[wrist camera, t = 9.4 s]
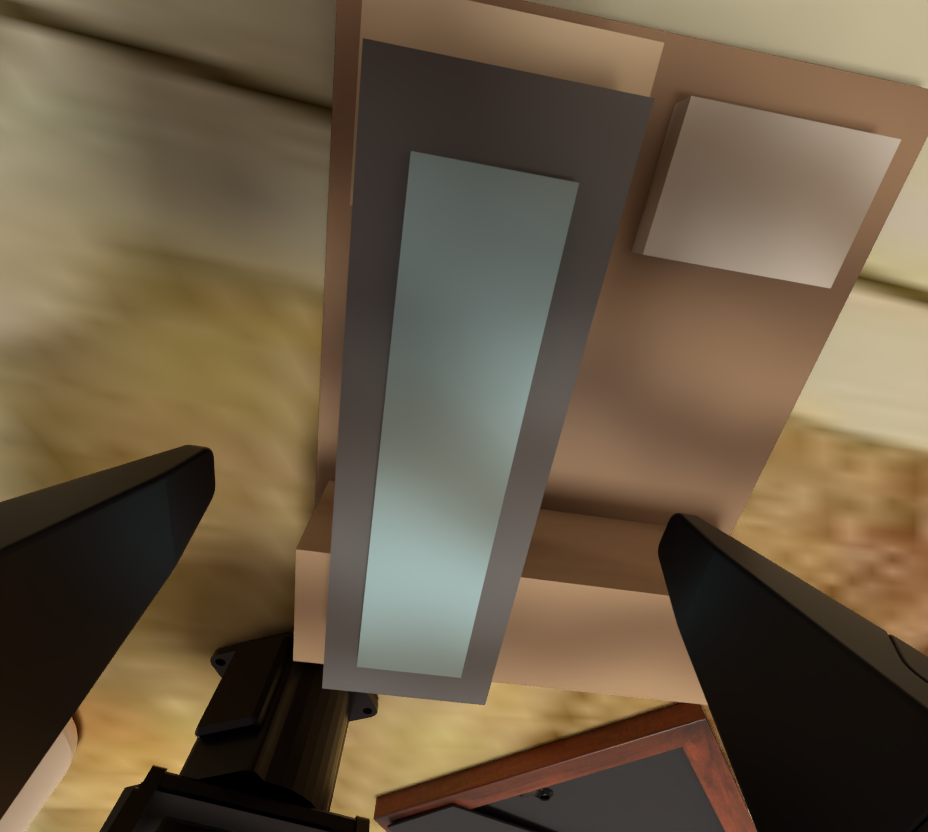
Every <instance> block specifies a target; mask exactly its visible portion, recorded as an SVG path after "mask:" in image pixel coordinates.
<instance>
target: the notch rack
mask: <svg viewBox="0 0 928 832" xmlns="http://www.w3.org/2000/svg"><path fill="white" fill-rule="evenodd" d="M363 38H365V39H370V40H375V41H380V42H385V43H389V44H394V45H399V46H404V47H409V48H414V49H419V50H423V51H428V52H433V53H438V54H443V55H448V56H452V57H457V58H462V59H467V60H472V61H477V62H482V63H486V64H491V65H496V66H501V67H506V68H511V69H515V70H520V71H525V72H530V73H535V74H540V75H545V76H549V77H554V78H559V79H564V80H569V81H574V82H578V83H583V84H588V85H593V86H598V87H603V88H608V89H612V90H617V91H622V92H627V93H632V94H637V95H642V96H646V97H651V98H655V99H654V102H653V106H652V109H651V113H650V116H649V120H648V124H647V127H646V131H645V134H644V138H643V142H642V145H641V149H640V152H639V156H638V159H637V163H636V167H635V170H634V174H633V177H632V181H631V184H630V188H629V192H628V195H627V199H626V202H625V206H624V209H623V213H622V217H621V220H620V224H619V227H618V231H617V235H616V238H615V242H614V245H613V249H612V252H611V256H610V260H609V263H608V267H607V270H606V274H605V277H604V281H603V285H602V288H601V292H600V295H599V299H598V302H597V306H596V310H595V313H594V317H593V320H592V324H591V327H590V331H589V335H588V338H587V342H586V345H585V349H584V353H583V356H582V360H581V363H580V367H579V370H578V374H577V378H576V381H575V385H574V388H573V392H572V395H571V399H570V403H569V406H568V410H567V413H566V417H565V420H564V424H563V428H562V431H561V435H560V438H559V442H558V446H557V449H556V453H555V456H554V460H553V463H552V467H551V471H550V474H549V478H548V481H547V485H546V488H545V492H544V496H543V499H542V503H541V506H540V510H539V513H538V517H537V521H536V524H535V528H534V531H533V535H532V538H531V542H530V546H529V549H528V553H527V556H526V560H525V564H524V567H523V571H522V574H521V578H520V581H519V585H518V589H517V592H516V596H515V599H514V603H513V606H512V610H511V614H510V617H509V621H508V624H507V628H506V631H505V635H504V639H503V642H502V646H501V649H500V653H499V657H498V660H497V664H496V667H495V671H494V674H493V678H492V682H497V683H506V684H516V685H525V686H534V687H544V688H553V689H562V690H572V691H581V692H590V693H600V694H609V695H618V696H628V697H637V698H647V699H656V700H665V701H675V702H684V703H693V704H703V705H708V704H707V701H706V699H705V696H704V694H703V691H702V689H701V686H700V683H699V681H698V678H697V676H696V673H695V671H694V668H693V665H692V663H691V660H690V658H689V655H688V653H687V650H686V647H685V645H684V642H683V640H682V637H681V634H680V631H679V629H678V626H677V622H676V619H675V616H674V613H673V609H672V605H671V602H670V598H669V594H668V591H667V587H666V583H665V580H664V576H663V572H662V569H661V565H660V561H659V558H658V546H659V542H660V540H661V538H662V535H663V533H664V531H665V528H666V526H667V524H668V521H669V519H670V517H671V516H672V515H673V514H675V513H686V514H693V515H696V516H698V517H700V518H701V519H703V520H705V521H706V522H708V523H710V524H711V525H713V526H715V527H716V528H718V529H719V530H721V531H723V532H724V533H726V534H728V535H729V536H730V535H731V533H732V531H733V529H734V527H735V525H736V523H737V521H738V519H739V517H740V515H741V513H742V511H743V509H744V507H745V505H746V503H747V501H748V499H749V497H750V495H751V492H752V490H753V488H754V486H755V484H756V482H757V480H758V478H759V476H760V474H761V472H762V470H763V468H764V466H765V464H766V462H767V460H768V458H769V456H770V454H771V452H772V450H773V448H774V446H775V444H776V442H777V440H778V438H779V436H780V434H781V432H782V430H783V428H784V426H785V424H786V422H787V420H788V418H789V416H790V414H791V412H792V410H793V408H794V405H795V403H796V401H797V399H798V397H799V395H800V393H801V391H802V389H803V387H804V385H805V383H806V381H807V379H808V377H809V375H810V373H811V371H812V369H813V367H814V365H815V363H816V361H817V359H818V357H819V355H820V353H821V351H822V349H823V347H824V345H825V343H826V341H827V339H828V337H829V335H830V333H831V331H832V329H833V327H834V325H835V323H836V320H837V318H838V316H839V314H840V312H841V310H842V308H843V306H844V304H845V302H846V300H847V298H848V296H849V294H850V292H851V290H852V288H853V286H854V284H855V282H856V280H857V278H858V276H859V274H860V272H861V270H862V268H863V266H864V264H865V262H866V260H867V258H868V256H869V254H870V252H871V250H872V248H873V246H874V244H875V242H876V240H877V238H878V236H879V233H880V231H881V229H882V227H883V225H884V223H885V221H886V219H887V217H888V215H889V213H890V211H891V209H892V207H893V205H894V203H895V201H896V199H897V197H898V195H899V193H900V191H901V189H902V187H903V185H904V183H905V181H906V179H907V177H908V175H909V173H910V171H911V169H912V167H913V165H914V163H915V161H916V159H917V157H918V155H919V153H920V151H921V149H922V146H923V144H924V142H925V140H926V138H927V136H928V89H925V88H921V87H916V86H912V85H907V84H903V83H898V82H893V81H889V80H884V79H880V78H875V77H870V76H866V75H861V74H857V73H852V72H848V71H843V70H838V69H834V68H829V67H825V66H820V65H815V64H811V63H806V62H802V61H797V60H793V59H788V58H783V57H779V56H774V55H770V54H765V53H760V52H756V51H751V50H747V49H742V48H738V47H733V46H728V45H724V44H719V43H715V42H710V41H705V40H701V39H696V38H692V37H687V36H683V35H678V34H673V33H669V32H664V31H660V30H655V29H650V28H646V27H641V26H637V25H632V24H628V23H623V22H618V21H614V20H609V19H605V18H600V17H595V16H591V15H586V14H582V13H577V12H573V11H568V10H563V9H559V8H554V7H550V6H545V5H540V4H536V3H531V2H527V1H522V0H337V13H336V35H335V58H334V81H333V104H332V127H331V150H330V173H329V196H328V219H327V242H326V265H325V288H324V310H323V333H322V356H321V379H320V402H319V425H318V448H317V471H316V494H315V511H314V513H313V515H312V517H311V519H310V521H309V523H308V525H307V527H306V529H305V531H304V534H303V536H302V538H301V540H300V542H299V544H298V546H297V548H296V567H295V607H294V647H293V661H301V662H310V663H319V664H324V650H325V634H326V618H327V603H328V587H329V571H330V555H331V539H332V523H333V507H334V491H335V475H336V459H337V443H338V427H339V411H340V395H341V379H342V363H343V347H344V331H345V315H346V299H347V283H348V267H349V251H350V235H351V219H352V203H353V187H354V171H355V155H356V139H357V123H358V107H359V91H360V75H361V59H362V43H363Z"/></svg>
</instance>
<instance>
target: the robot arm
mask: <svg viewBox="0 0 928 832" xmlns="http://www.w3.org/2000/svg"><path fill="white" fill-rule="evenodd" d="M214 492H215V471H214V456H213V452H212V450H211V449H210V448H208V447H202V446H195V445H185V446H181V447H178V448H175V449H172V450H168V451H165V452H162V453H159V454H155V455H152V456H149V457H145V458H142V459H139V460H136V461H132V462H129V463H126V464H123V465H119V466H116V467H113V468H110V469H106V470H103V471H100V472H97V473H93V474H90V475H87V476H84V477H80V478H77V479H74V480H71V481H67V482H64V483H61V484H58V485H54V486H51V487H48V488H45V489H41V490H38V491H35V492H32V493H28V494H25V495H22V496H19V497H15V498H12V499H9V500H6V501H2V502H0V820H1V819H2V817H3V816H4V814H5V813H6V811H7V810H8V809H9V807H10V806H11V804H12V803H13V801H14V800H15V798H16V797H17V795H18V794H19V793H20V791H21V790H22V788H23V787H24V785H25V784H26V782H27V781H28V780H29V778H30V777H31V775H32V774H33V772H34V771H35V769H36V768H37V767H38V765H39V764H40V762H41V761H42V759H43V758H44V756H45V755H46V753H47V752H48V751H49V749H50V748H51V746H52V745H53V743H54V742H55V740H56V739H57V738H58V736H59V735H60V733H61V732H62V730H63V729H64V727H65V726H66V725H67V723H68V722H69V720H70V719H71V717H72V716H73V714H74V713H75V712H76V710H77V709H78V707H79V706H80V704H81V703H82V701H83V700H84V698H85V697H86V696H87V694H88V693H89V691H90V690H91V688H92V687H93V685H94V684H95V683H96V681H97V680H98V678H99V677H100V675H101V674H102V672H103V671H104V670H105V668H106V667H107V665H108V664H109V662H110V661H111V659H112V658H113V657H114V655H115V654H116V652H117V651H118V649H119V648H120V646H121V645H122V643H123V642H124V641H125V639H126V638H127V636H128V635H129V633H130V632H131V630H132V629H133V628H134V626H135V625H136V623H137V622H138V620H139V619H140V617H141V616H142V615H143V613H144V612H145V610H146V609H147V607H148V606H149V604H150V603H151V602H152V600H153V599H154V597H155V596H156V594H157V593H158V591H159V590H160V588H161V587H162V586H163V584H164V583H165V581H166V580H167V578H168V577H169V575H170V574H171V572H172V571H173V569H174V568H175V566H176V564H177V563H178V561H179V559H180V558H181V556H182V554H183V552H184V550H185V548H186V547H187V545H188V543H189V541H190V539H191V537H192V535H193V533H194V532H195V530H196V528H197V526H198V524H199V522H200V520H201V519H202V517H203V515H204V513H205V511H206V509H207V507H208V505H209V504H210V502H211V500H212V498H213V495H214ZM658 558H659V561H660V565H661V569H662V572H663V576H664V580H665V583H666V587H667V591H668V594H669V598H670V602H671V605H672V609H673V613H674V616H675V619H676V622H677V626H678V629H679V631H680V634H681V637H682V640H683V642H684V645H685V647H686V650H687V653H688V655H689V658H690V660H691V663H692V665H693V668H694V671H695V673H696V676H697V678H698V681H699V683H700V686H701V689H702V691H703V694H704V696H705V699H706V701H707V704H708V707H709V709H710V712H711V714H712V717H713V719H714V722H715V725H716V727H717V730H718V732H719V735H720V737H721V740H722V743H723V745H724V748H725V750H726V753H727V755H728V758H729V761H730V763H731V766H732V768H733V771H734V773H735V776H736V779H737V781H738V784H739V786H740V789H741V791H742V794H743V797H744V799H745V802H746V804H747V807H748V809H749V812H750V814H751V817H752V820H753V822H754V825H755V827H756V830H757V832H928V656H926V655H925V654H923V653H921V652H920V651H918V650H916V649H915V648H913V647H911V646H910V645H908V644H906V643H905V642H903V641H901V640H900V639H898V638H897V637H895V636H893V635H888V634H887V632H886V631H885V630H883V629H882V628H880V627H878V626H877V625H875V624H873V623H872V622H870V621H869V620H867V619H865V618H864V617H862V616H860V615H859V614H857V613H855V612H854V611H852V610H851V609H849V608H847V607H846V606H844V605H842V604H841V603H839V602H837V601H836V600H834V599H832V598H831V597H829V596H828V595H826V594H824V593H823V592H821V591H819V590H818V589H816V588H814V587H813V586H811V585H810V584H808V583H806V582H805V581H803V580H801V579H800V578H798V577H796V576H795V575H793V574H792V573H790V572H788V571H787V570H785V569H783V568H782V567H780V566H778V565H777V564H775V563H773V562H772V561H770V560H769V559H767V558H765V557H764V556H762V555H760V554H759V553H757V552H755V551H754V550H752V549H751V548H749V547H747V546H746V545H744V544H742V543H741V542H739V541H737V540H736V539H734V538H733V537H731V536H729V535H728V534H726V533H724V532H723V531H721V530H719V529H718V528H716V527H715V526H713V525H711V524H710V523H708V522H706V521H705V520H703V519H701V518H700V517H698V516H696V515H693V514H686V513H675V514H673V515H672V516H671V517H670V519H669V521H668V524H667V526H666V528H665V531H664V533H663V535H662V538H661V540H660V542H659V546H658ZM293 647H294V631H292V632H288V633H284V634H279V635H275V636H271V637H266V638H262V639H258V640H253V641H249V642H245V643H240V644H236V645H232V646H227V647H223V648H219V649H217V650H216V651H215V652H214V654H213V656H212V657H211V660H210V662H211V664H212V666H213V667H214V668H215V670H216V671H217V672H218V674H219V675H220V676H221V678H222V679H221V681H220V683H219V685H218V687H217V689H216V691H215V693H214V695H213V697H212V698H211V700H210V702H209V704H208V706H207V708H206V710H205V712H204V714H203V716H202V718H201V720H200V722H199V724H198V726H197V728H196V731H195V735H196V736H197V737H198V738H197V740H196V742H195V744H194V746H193V748H192V750H191V752H190V754H189V756H188V758H187V760H186V762H185V764H184V766H183V768H182V770H181V772H180V774H179V775H178V774H174V773H170V772H167V768H163V767H159V766H155V765H153V766H152V768H151V770H150V771H149V773H148V775H147V776H146V778H145V780H144V781H143V782H141V784H138V785H134V786H130V787H126V788H125V789H124V790H123V792H122V794H121V796H120V797H119V799H118V801H117V803H116V804H115V806H114V808H113V809H112V811H111V813H110V815H109V816H108V818H107V820H106V822H105V823H104V825H103V827H102V828H101V830H100V832H369V823H370V820H369V819H368V818H364V817H360V816H356V817H355V818H352V817H348V816H344V815H340V814H336V813H332V812H329V811H330V806H331V802H332V797H333V792H334V788H335V783H336V779H337V774H338V769H339V765H340V760H341V756H342V751H343V746H344V742H345V737H346V732H347V728H348V723H349V721H354V720H359V719H363V718H368V717H372V716H375V715H376V714H377V710H378V701H377V699H376V698H375V696H374V694H372V693H362V692H353V691H343V690H333V689H324V688H322V682H323V666H324V664H319V663H310V662H301V661H293Z"/></svg>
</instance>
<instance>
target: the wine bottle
mask: <svg viewBox="0 0 928 832" xmlns="http://www.w3.org/2000/svg"><path fill="white" fill-rule="evenodd" d="M77 741H78V735H77V729H76V725H75V723H74V721H73V719H72V717H71V719H70V720H69V722H68V723H67V725H66V726H65V727H64V729H63V730H62V732H61V733H60V735H59V736H58V738H57V739H56V740H55V742H54V743H53V745H52V746H51V748H50V749H49V751H48V752H47V753H46V755H45V756H44V758H43V759H42V761H41V762H40V764H39V765H38V767H37V768H36V769H35V771H34V772H33V774H32V775H31V777H30V778H29V780H28V781H27V782H26V784H25V785H24V787H23V788H22V790H21V791H20V793H19V794H18V795H17V797H16V798H15V800H14V801H13V803H12V804H11V806H10V807H9V809H8V810H7V811H6V813H5V814H4V816H3V817H2V819H1V820H0V832H25V831H26V830H27V828H28V827H29V825H30V824H31V823H32V821H33V820H34V818H35V817H36V815H37V814H38V813H39V811H40V810H41V808H42V807H43V805H44V804H45V803H46V801H47V800H48V798H49V797H50V795H51V794H52V793H53V791H54V790H55V788H56V787H57V785H58V784H59V782H60V781H61V780H62V778H63V777H64V775H65V774H66V772H67V770H68V769H69V767H70V765H71V762H72V760H73V758H74V756H75V753H76V748H77Z"/></svg>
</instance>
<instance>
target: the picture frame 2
mask: <svg viewBox="0 0 928 832" xmlns="http://www.w3.org/2000/svg"><path fill="white" fill-rule="evenodd" d="M374 820H375V821H376V822H377V823H378V824H379V825H380V826H381V827H382V828H384V829H385V830H386V831H387V832H757V830H756V828H755V825H754V823H753V821H752V819H751V817H750V814H749V812H748V810H747V808H746V806H745V803H744V801H743V799H742V797H741V795H740V792H739V790H738V788H737V786H736V784H735V781H734V779H733V777H732V775H731V772H730V770H729V768H728V766H727V764H726V761H725V759H724V757H723V755H722V753H721V750H720V748H719V746H718V744H717V742H716V739H715V737H714V735H713V733H712V731H711V728H710V726H709V724H708V722H707V720H706V717H705V715H704V713H703V711H702V709H701V707H700V705H699V704H693V703H684V702H681V703H678V704H675V705H672V706H669V707H665V708H662V709H659V710H656V711H653V712H649V713H646V714H643V715H640V716H637V717H633V718H630V719H627V720H624V721H621V722H617V723H614V724H611V725H608V726H605V727H602V728H598V729H595V730H592V731H589V732H586V733H582V734H579V735H576V736H573V737H570V738H566V739H563V740H560V741H557V742H554V743H550V744H547V745H544V746H541V747H538V748H534V749H531V750H528V751H525V752H522V753H518V754H515V755H512V756H509V757H506V758H502V759H499V760H496V761H493V762H490V763H487V764H483V765H480V766H477V767H474V768H471V769H467V770H464V771H461V772H458V773H455V774H451V775H448V776H445V777H442V778H439V779H435V780H432V781H429V782H426V783H423V784H419V785H416V786H413V787H410V788H407V789H403V790H400V791H397V792H394V793H391V794H387V795H384V796H381V797H378V798H377V799H376V806H375V813H374Z"/></svg>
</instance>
